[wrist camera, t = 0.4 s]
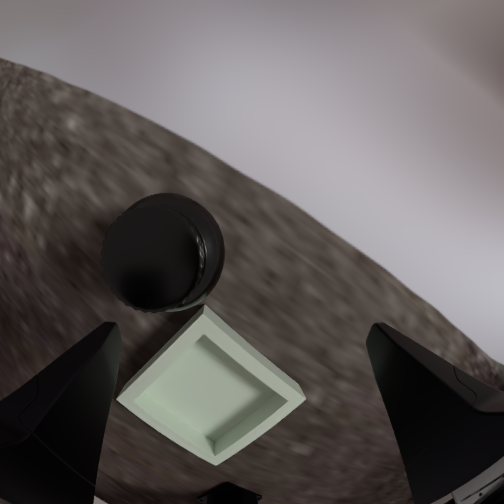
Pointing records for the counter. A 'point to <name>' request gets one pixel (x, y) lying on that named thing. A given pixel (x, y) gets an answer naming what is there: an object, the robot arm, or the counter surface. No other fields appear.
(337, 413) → the counter surface
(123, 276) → the supplement bottle
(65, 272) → the counter surface
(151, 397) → the mint green square tray
